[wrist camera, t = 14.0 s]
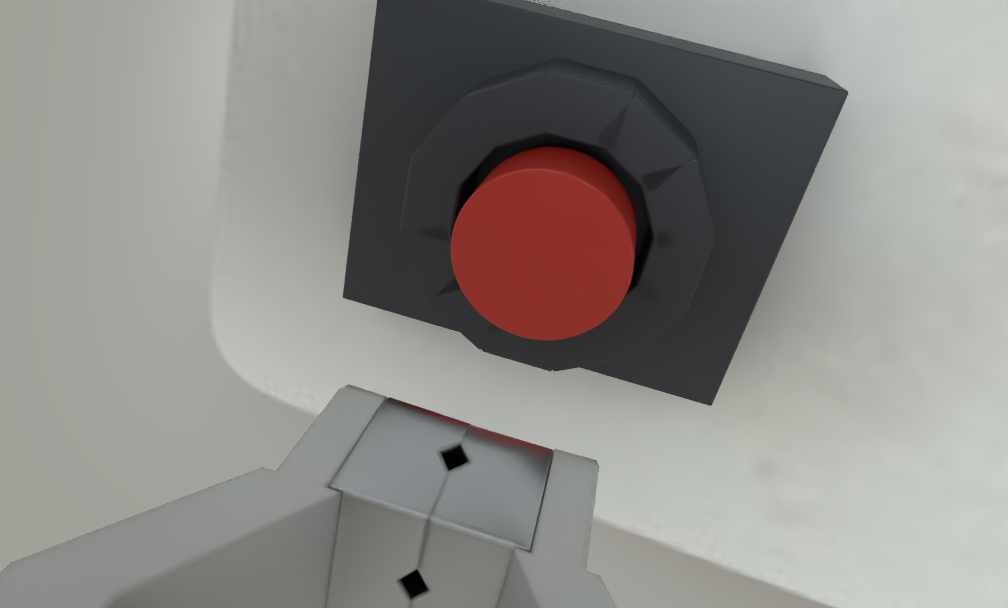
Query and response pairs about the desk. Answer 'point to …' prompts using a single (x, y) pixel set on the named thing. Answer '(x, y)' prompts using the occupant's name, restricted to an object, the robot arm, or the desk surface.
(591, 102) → the grey button base
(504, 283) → the bell button
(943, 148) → the desk surface
